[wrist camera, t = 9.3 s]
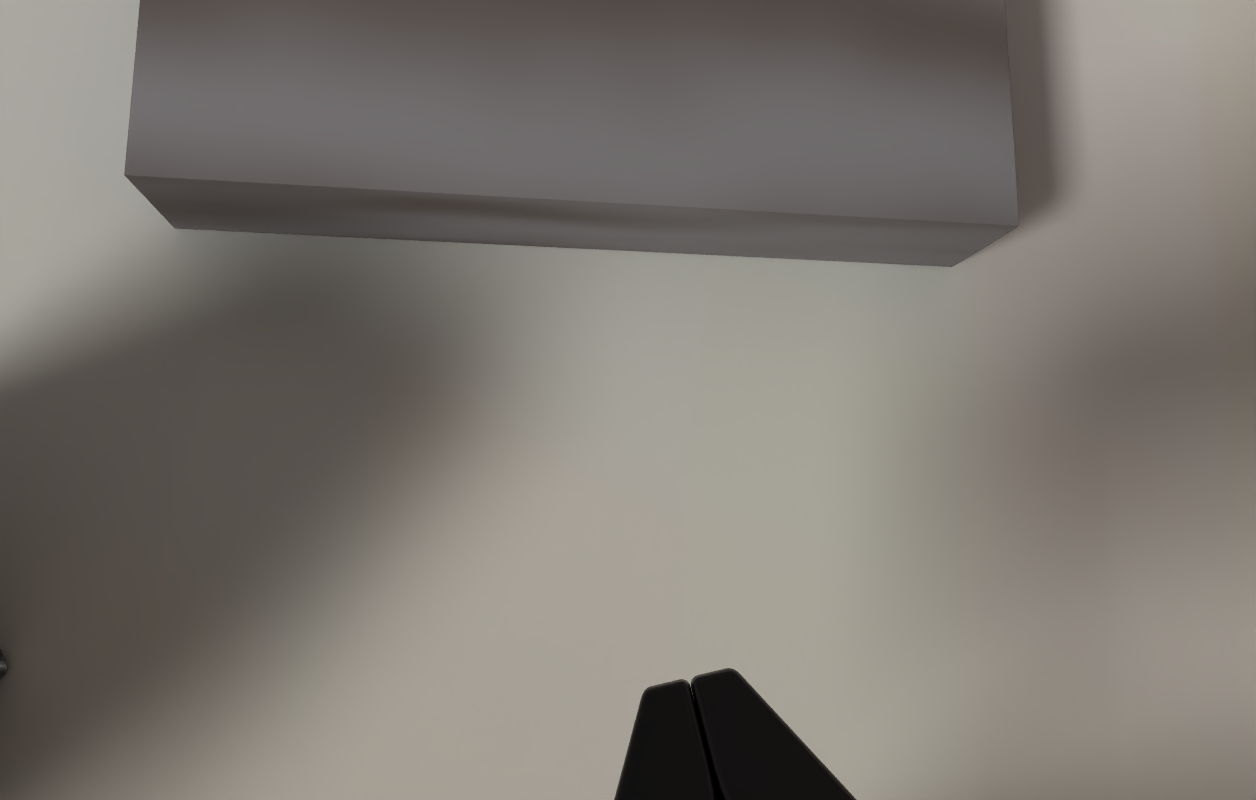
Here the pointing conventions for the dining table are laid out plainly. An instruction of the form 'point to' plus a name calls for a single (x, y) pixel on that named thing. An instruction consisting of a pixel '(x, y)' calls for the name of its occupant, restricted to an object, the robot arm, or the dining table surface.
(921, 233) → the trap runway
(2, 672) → the small box
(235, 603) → the dining table surface
